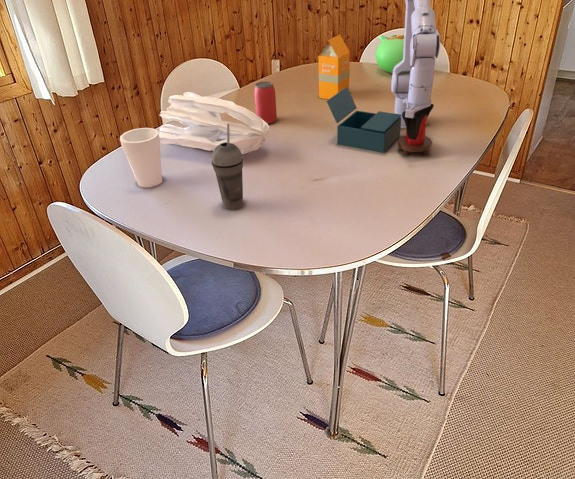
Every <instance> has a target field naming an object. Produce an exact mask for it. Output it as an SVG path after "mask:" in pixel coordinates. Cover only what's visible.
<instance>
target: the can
mask: <svg viewBox="0 0 575 479" xmlns="http://www.w3.org/2000/svg"><path fill="white" fill-rule="evenodd" d="M418 113H419V114H420V115H425V117H424V118H423V120H422V122H421V125H420V128H419V132H418V136H417V138H416V140H414V139H408V135H407V129H405V130H406V131H405V135H406V140H405V141H406V142H407V143H409V144H413V145H419V144H422V143H424V141H425V136H426V133H427V132H426V131H427V125H428V118H427V114H426V113H424V112H420V111H418ZM426 124H427V125H426Z"/></svg>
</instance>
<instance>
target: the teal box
mask: <svg viewBox="0 0 575 479" xmlns="http://www.w3.org/2000/svg"><path fill="white" fill-rule="evenodd" d="M336 130H337V132H336V135H337V136H336V137H337V138H336V145H338V146H344V147H349V148H355V149H359V150H366V151H371V152H377V153H381V154H384V153H385V152H386V151H387V150H388V149H389V148H390V147H391V146H392V144H394V142H395V141H396V140H398V139H399V138H400V137H401V130H402V128H401V115H400V114H394V112H387V111H380V110H379V111H378V112H376V113H375V112H368V111H362V110H354V111H353V113H351V115H350V114H349V115H348V116H347V117H346V119H345V118H344V119H343V120H342V121H341V122H339V123H338V125H337V128H336Z"/></svg>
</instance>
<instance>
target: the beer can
mask: <svg viewBox="0 0 575 479" xmlns="http://www.w3.org/2000/svg"><path fill="white" fill-rule="evenodd" d="M253 93H254V105H255V107H254V108H255V114H256V115H257V116H259V117H260V118H261V119H262V120H264V121H265V122H266V123H267V124H268V125H270V124H274V123H275V122H276V121H277V120H278V114H277V113H278V111H277V98H276V89H275V86H274V83H273V82H271V81H266V80H265V81H259V82H257V83H255V87H254V91H253Z"/></svg>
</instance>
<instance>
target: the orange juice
mask: <svg viewBox="0 0 575 479" xmlns="http://www.w3.org/2000/svg"><path fill="white" fill-rule="evenodd" d="M350 60H351V51H350V50H349V48H348V46H347V44H346V43H345V40H344V39H343V36H342V35H341V33H339V34H337V35H335V36H332V37H331V38H328V40H327V41H326V42H325V44H324V46H323V47H322V49H321V51H320V52H319V53H318V98H319V99H323V100H324V99H325V100H329V99H330V98H332V97H333V96H334V95H336V94H337V93H339V92H340V91H341V90H343V89H344V88H346V87H348V89H349V90H350V77H351V76H350V74H351V73H350V71H351V70H350V66H351V65H350Z"/></svg>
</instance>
